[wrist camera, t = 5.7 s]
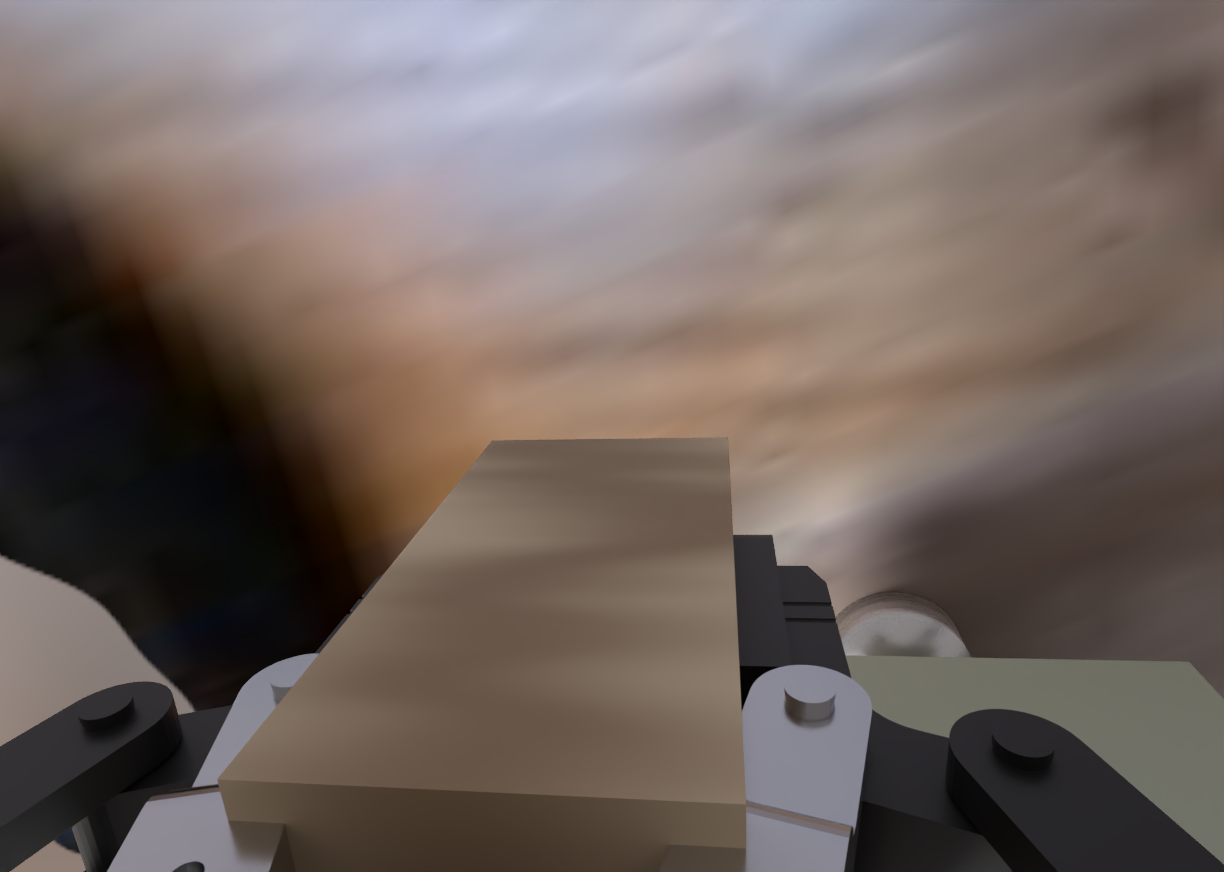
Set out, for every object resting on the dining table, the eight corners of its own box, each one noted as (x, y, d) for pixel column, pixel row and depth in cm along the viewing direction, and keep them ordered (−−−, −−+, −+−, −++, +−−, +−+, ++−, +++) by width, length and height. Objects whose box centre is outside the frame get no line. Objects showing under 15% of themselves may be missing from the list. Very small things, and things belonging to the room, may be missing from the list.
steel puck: (964, 590, 29) (981, 619, 27) (954, 704, 31) (969, 739, 29) (823, 588, 30) (830, 617, 28) (821, 700, 31) (827, 734, 30)
